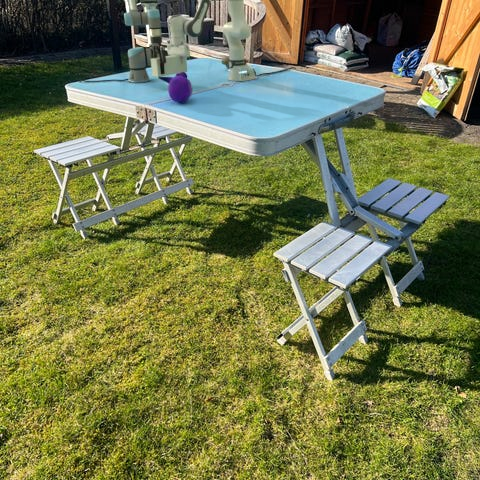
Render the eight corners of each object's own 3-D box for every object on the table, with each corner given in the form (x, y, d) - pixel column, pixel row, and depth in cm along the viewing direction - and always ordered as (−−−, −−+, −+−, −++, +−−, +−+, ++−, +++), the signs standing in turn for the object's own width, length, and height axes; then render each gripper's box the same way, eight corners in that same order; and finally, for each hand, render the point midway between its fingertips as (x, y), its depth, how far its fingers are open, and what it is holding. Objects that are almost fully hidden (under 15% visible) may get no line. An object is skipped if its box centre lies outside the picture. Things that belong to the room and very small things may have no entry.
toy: (182, 94, 297) (192, 108, 276) (156, 89, 290) (164, 103, 269) (187, 69, 289) (197, 82, 268) (160, 64, 282) (169, 77, 261)
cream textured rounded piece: (225, 72, 364) (224, 52, 356) (218, 70, 372) (217, 50, 365) (247, 69, 373) (247, 50, 365) (240, 67, 381) (240, 48, 374)
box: (158, 77, 299) (156, 59, 293) (152, 76, 303) (150, 58, 297) (187, 71, 315) (186, 54, 310) (181, 70, 319) (180, 53, 313)
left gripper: (169, 36, 288) (173, 74, 299) (151, 34, 299) (155, 71, 311) (160, 37, 283) (164, 75, 295) (142, 35, 294) (146, 72, 306)
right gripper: (191, 42, 301) (193, 63, 308) (171, 39, 313) (173, 61, 320) (184, 43, 297) (186, 65, 304) (164, 40, 309) (166, 62, 316)
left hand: (159, 73), depth 303 cm, fingers closed on box, 6 cm apart
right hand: (179, 63), depth 312 cm, fingers closed on box, 6 cm apart
